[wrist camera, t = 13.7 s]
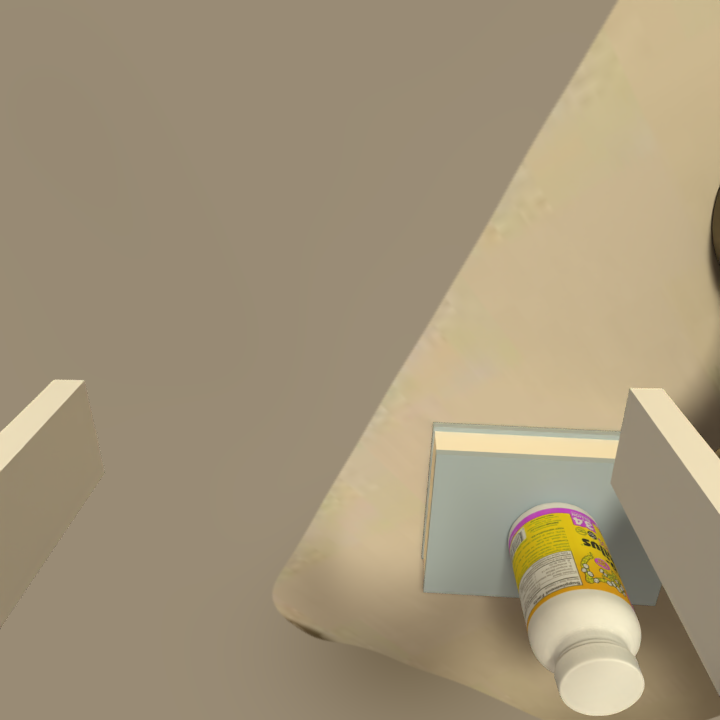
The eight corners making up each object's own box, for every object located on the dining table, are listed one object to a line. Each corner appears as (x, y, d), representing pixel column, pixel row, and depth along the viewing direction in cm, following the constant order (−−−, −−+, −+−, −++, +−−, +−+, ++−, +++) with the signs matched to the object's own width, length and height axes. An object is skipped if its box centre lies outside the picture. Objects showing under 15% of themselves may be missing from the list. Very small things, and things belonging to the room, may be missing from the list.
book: (673, 434, 48) (698, 467, 44) (636, 565, 53) (655, 605, 50) (433, 422, 48) (436, 454, 44) (421, 553, 54) (423, 592, 50)
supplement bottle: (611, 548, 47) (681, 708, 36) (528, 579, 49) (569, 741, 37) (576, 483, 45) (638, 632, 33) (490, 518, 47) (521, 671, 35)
